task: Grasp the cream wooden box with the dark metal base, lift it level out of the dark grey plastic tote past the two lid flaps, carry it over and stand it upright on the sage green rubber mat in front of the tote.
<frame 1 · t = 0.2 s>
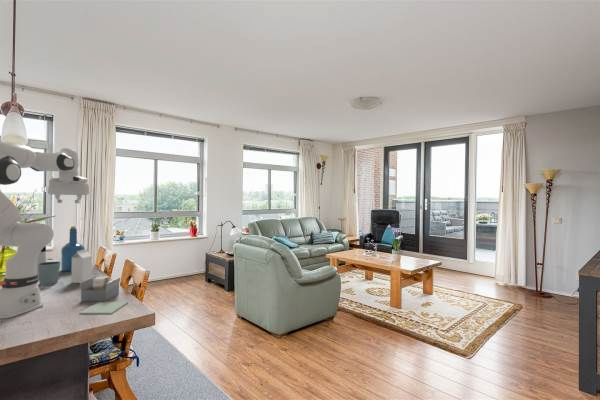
hand: (68, 203, 177), 48 cm above the table, tool pointing down, fingers open, 8 cm apart
storage tote: (100, 297, 162), on the table
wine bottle: (72, 270, 219), on the table
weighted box: (100, 287, 162), in the storage tote
sage mat: (104, 308, 147), on the table
travel mug: (39, 278, 196), on the table
grey-green plant pot: (49, 283, 186), on the table
milk carton: (81, 282, 190), on the table
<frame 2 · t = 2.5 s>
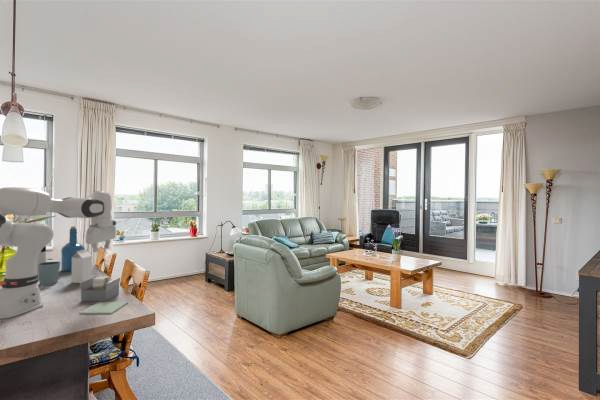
hand: (101, 250, 162), 24 cm above the table, tool pointing down, fingers open, 8 cm apart
nothing on the table moved.
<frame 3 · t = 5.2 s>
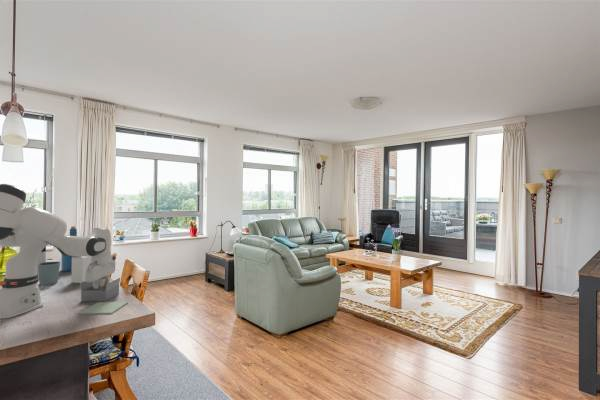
hand: (100, 286, 162), 6 cm above the table, tool pointing down, fingers closed on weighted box, 5 cm apart
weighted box: (100, 287, 162), in the storage tote, touching gripper
everything else where it was.
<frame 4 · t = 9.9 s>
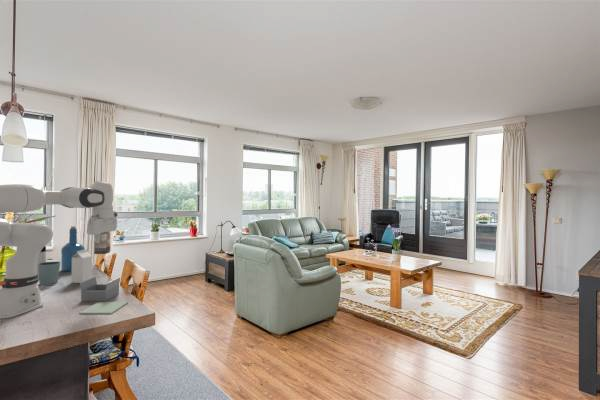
hand: (102, 241, 158), 29 cm above the table, tool pointing down, fingers closed on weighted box, 5 cm apart
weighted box: (102, 243, 158), point 28 cm above the table, touching gripper
everything else where it was.
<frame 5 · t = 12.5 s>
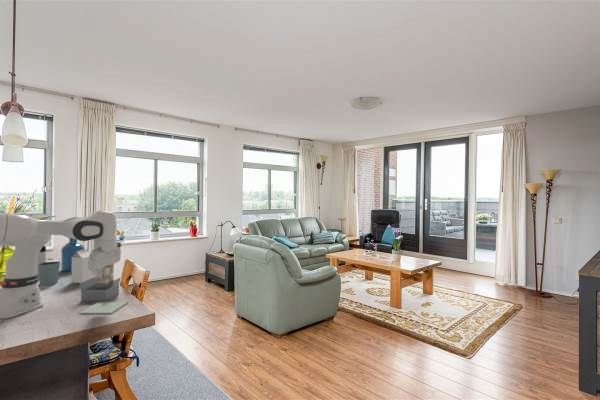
hand: (104, 275, 147), 15 cm above the table, tool pointing down, fingers closed on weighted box, 5 cm apart
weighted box: (105, 277, 147), point 14 cm above the table, touching gripper
everything else where it was.
when the fingers open (8 cm above the table, at t = 14.7 s): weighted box drops 1 cm, resting on sage mat.
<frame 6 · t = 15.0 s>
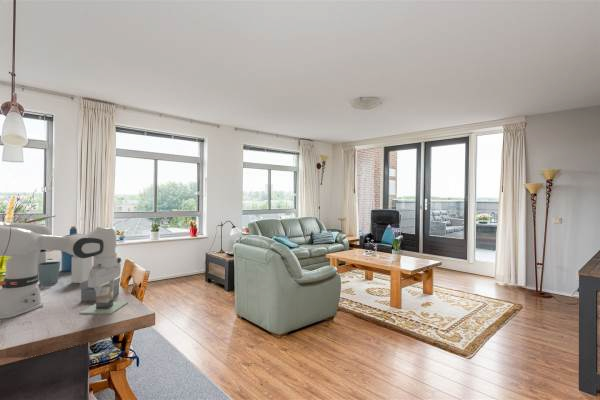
hand: (104, 291, 147), 8 cm above the table, tool pointing down, fingers open, 8 cm apart
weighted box: (104, 296, 147), on the sage mat, point 6 cm above the table
everything else where it was.
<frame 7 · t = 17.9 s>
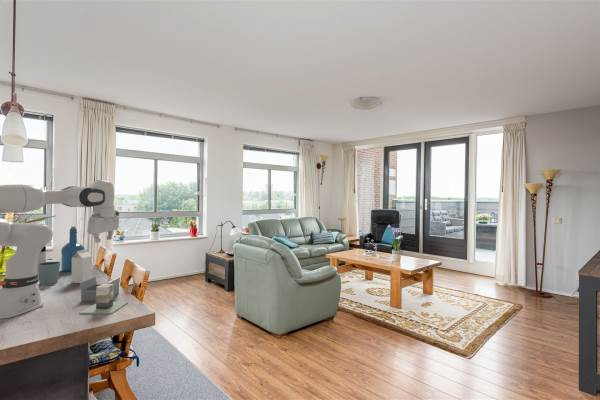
hand: (103, 241, 158), 30 cm above the table, tool pointing down, fingers open, 8 cm apart
nothing on the table moved.
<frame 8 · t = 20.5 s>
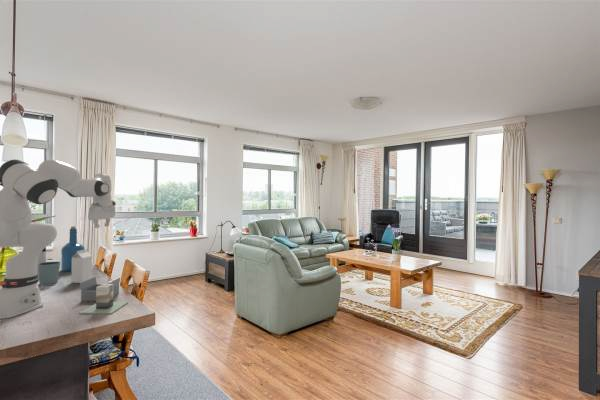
hand: (102, 227, 180), 34 cm above the table, tool pointing down, fingers open, 8 cm apart
nothing on the table moved.
at the end: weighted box inside the target area on the sage mat (0.0 cm from its centre), point 5.6 cm above the sage mat's base; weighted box tilted 0°; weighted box touching sage mat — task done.
